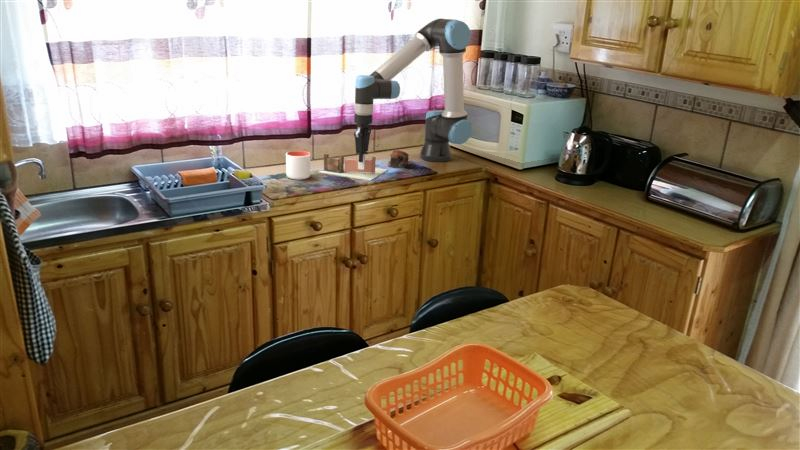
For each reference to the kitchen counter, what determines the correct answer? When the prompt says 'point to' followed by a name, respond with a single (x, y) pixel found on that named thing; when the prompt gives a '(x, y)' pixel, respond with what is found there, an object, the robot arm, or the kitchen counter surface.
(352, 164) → the fence panel
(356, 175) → the card
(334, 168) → the fence fixed
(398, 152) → the brown rock
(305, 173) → the cup
